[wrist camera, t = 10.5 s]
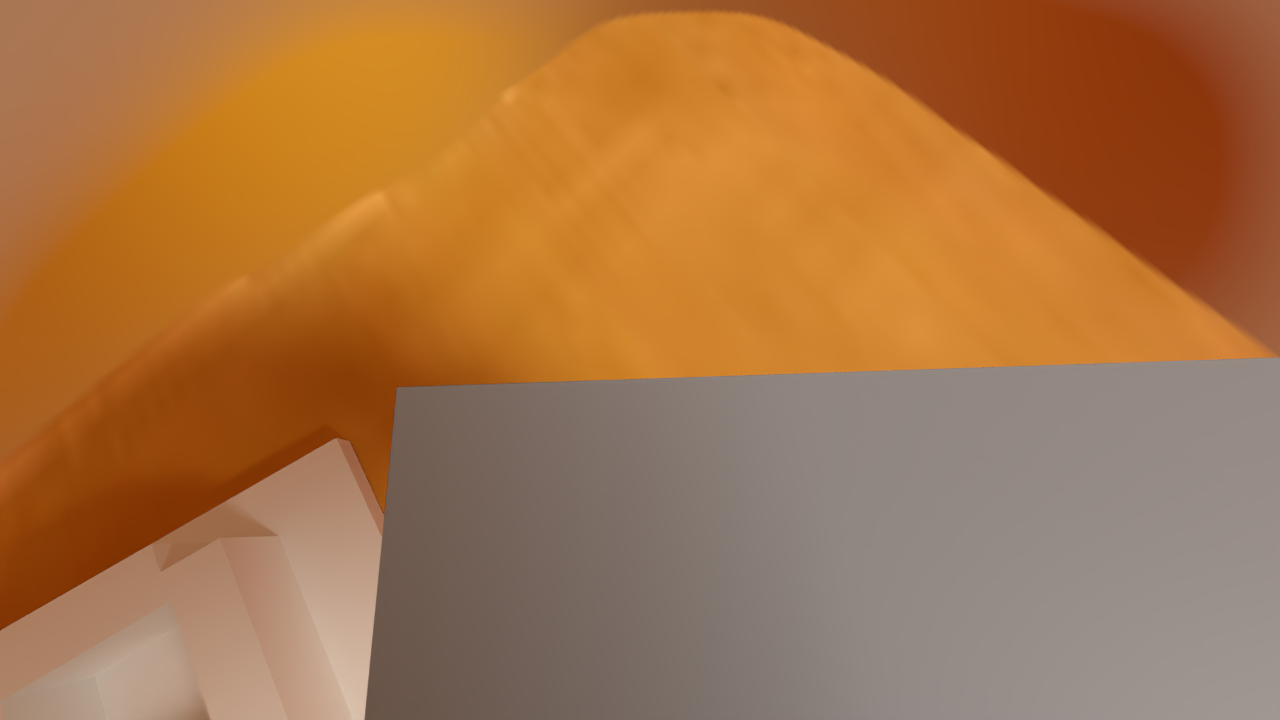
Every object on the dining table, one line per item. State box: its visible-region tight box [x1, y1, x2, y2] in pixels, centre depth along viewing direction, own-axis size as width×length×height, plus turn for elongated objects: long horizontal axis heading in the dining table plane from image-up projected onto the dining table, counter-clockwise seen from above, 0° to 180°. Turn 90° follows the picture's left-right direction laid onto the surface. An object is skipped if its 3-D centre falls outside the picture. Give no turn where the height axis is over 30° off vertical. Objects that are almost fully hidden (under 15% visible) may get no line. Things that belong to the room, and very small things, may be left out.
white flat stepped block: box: [0, 438, 384, 720], centre depth 19 cm, size 16×12×4 cm
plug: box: [364, 358, 1280, 720], centre depth 8 cm, size 4×4×13 cm
